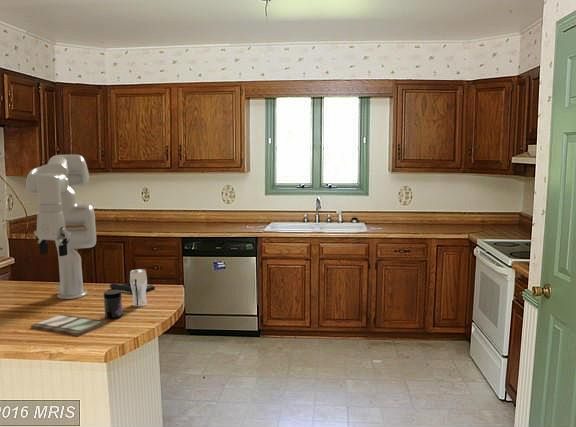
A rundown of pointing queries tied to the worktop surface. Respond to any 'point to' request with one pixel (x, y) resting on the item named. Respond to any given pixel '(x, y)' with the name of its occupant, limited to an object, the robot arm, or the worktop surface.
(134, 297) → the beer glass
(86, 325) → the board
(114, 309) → the supplement container
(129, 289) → the door handle
